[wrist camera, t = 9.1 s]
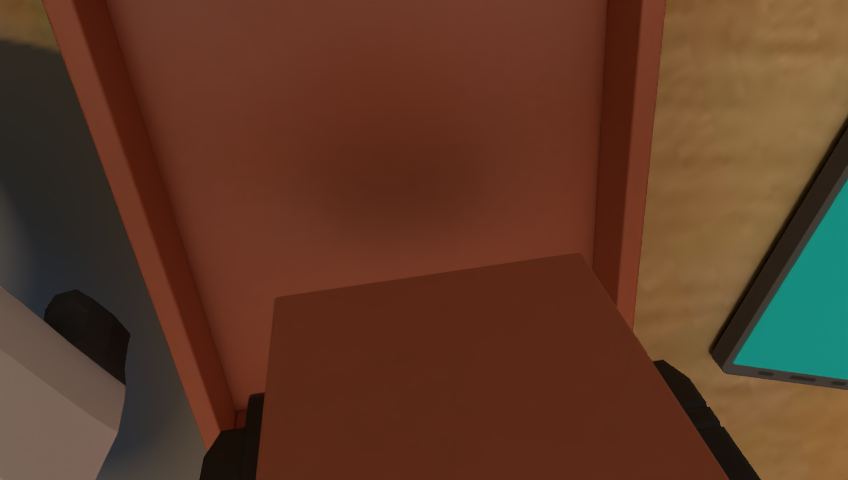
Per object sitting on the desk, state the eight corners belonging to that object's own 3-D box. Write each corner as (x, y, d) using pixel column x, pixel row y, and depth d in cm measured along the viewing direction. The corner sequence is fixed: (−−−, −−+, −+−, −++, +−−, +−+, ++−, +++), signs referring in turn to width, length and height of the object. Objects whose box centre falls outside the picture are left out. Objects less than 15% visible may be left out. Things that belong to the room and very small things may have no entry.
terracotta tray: (225, 409, 23) (214, 474, 20) (65, -76, 15) (17, -63, 12) (594, 349, 24) (625, 405, 21) (626, -133, 16) (680, -131, 14)
